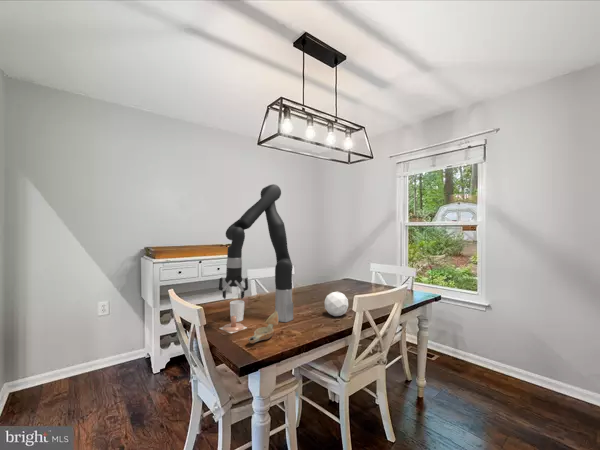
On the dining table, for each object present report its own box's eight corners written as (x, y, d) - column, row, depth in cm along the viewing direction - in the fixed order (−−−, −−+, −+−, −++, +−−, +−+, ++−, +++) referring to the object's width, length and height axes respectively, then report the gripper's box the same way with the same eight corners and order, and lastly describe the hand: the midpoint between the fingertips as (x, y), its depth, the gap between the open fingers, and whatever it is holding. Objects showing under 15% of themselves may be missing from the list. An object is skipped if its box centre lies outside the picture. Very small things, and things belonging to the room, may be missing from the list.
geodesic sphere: (332, 299, 176) (327, 283, 168) (354, 302, 168) (349, 286, 161) (324, 318, 165) (317, 303, 158) (347, 323, 158) (341, 307, 151)
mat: (247, 328, 140) (247, 327, 140) (231, 334, 132) (231, 333, 132) (235, 323, 146) (235, 323, 146) (219, 329, 139) (219, 328, 139)
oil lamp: (283, 332, 135) (283, 312, 136) (257, 349, 117) (257, 325, 117) (268, 329, 139) (269, 309, 140) (241, 345, 121) (241, 322, 121)
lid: (247, 327, 140) (247, 316, 140) (231, 333, 132) (231, 321, 132) (235, 323, 146) (235, 312, 146) (219, 328, 139) (219, 316, 139)
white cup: (238, 317, 158) (238, 299, 158) (247, 320, 153) (247, 301, 153) (226, 320, 151) (226, 302, 152) (235, 323, 146) (235, 304, 146)
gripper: (249, 265, 144) (248, 296, 144) (221, 265, 143) (220, 296, 143) (247, 267, 137) (246, 300, 137) (218, 267, 136) (217, 300, 135)
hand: (233, 298), depth 140 cm, fingers open, 8 cm apart
